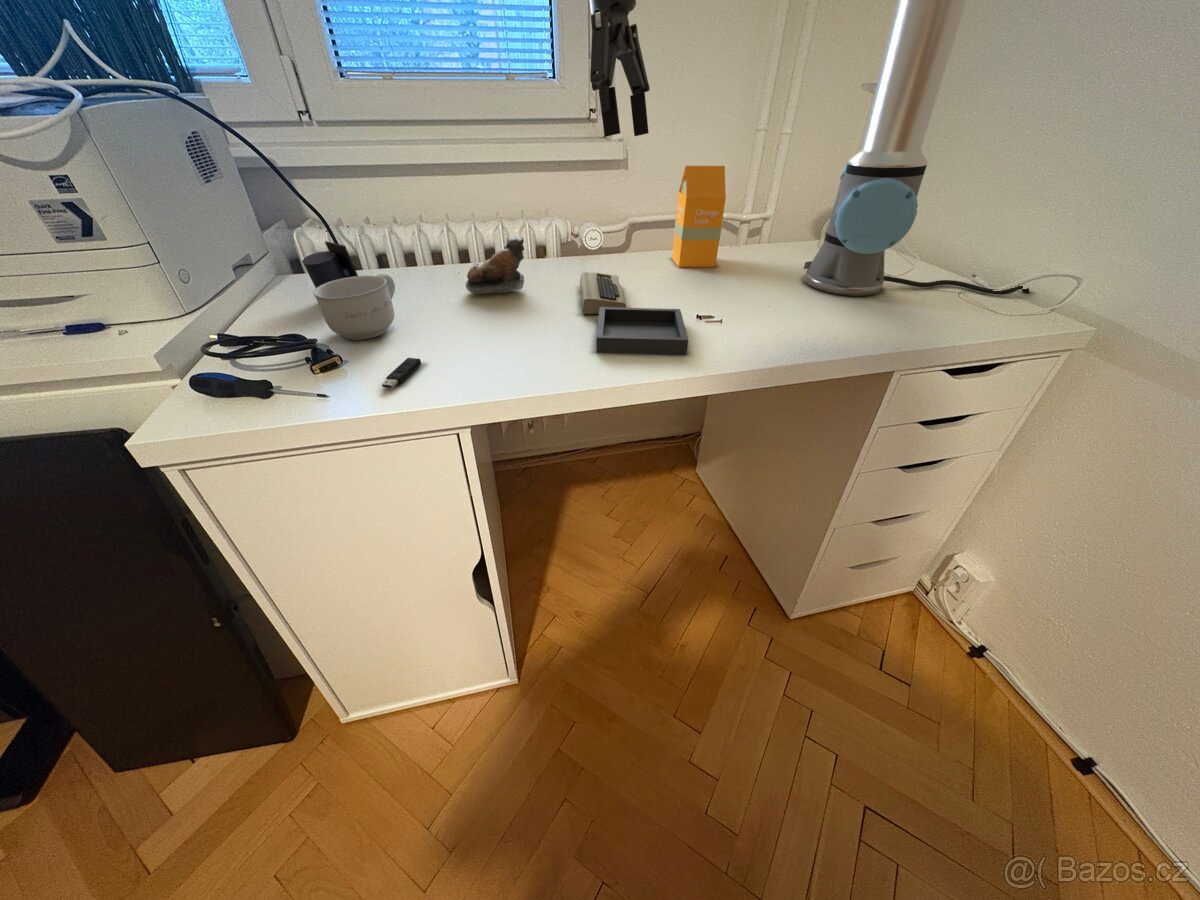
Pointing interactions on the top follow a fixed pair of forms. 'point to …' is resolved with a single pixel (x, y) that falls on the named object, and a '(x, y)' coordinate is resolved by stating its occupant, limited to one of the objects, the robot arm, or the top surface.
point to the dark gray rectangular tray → (641, 331)
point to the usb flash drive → (401, 372)
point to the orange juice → (699, 216)
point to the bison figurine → (498, 271)
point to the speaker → (329, 264)
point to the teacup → (357, 305)
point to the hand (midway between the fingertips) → (627, 135)
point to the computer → (600, 292)
